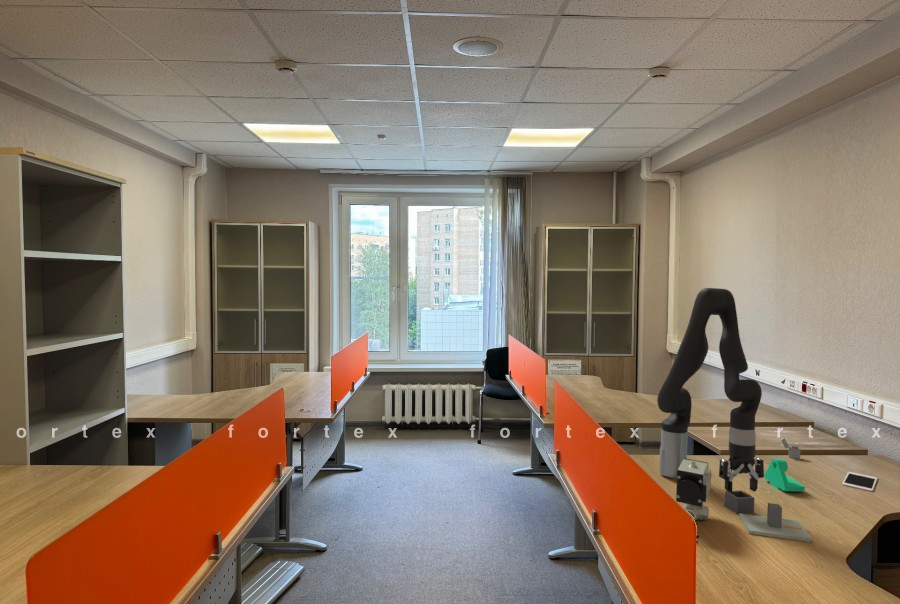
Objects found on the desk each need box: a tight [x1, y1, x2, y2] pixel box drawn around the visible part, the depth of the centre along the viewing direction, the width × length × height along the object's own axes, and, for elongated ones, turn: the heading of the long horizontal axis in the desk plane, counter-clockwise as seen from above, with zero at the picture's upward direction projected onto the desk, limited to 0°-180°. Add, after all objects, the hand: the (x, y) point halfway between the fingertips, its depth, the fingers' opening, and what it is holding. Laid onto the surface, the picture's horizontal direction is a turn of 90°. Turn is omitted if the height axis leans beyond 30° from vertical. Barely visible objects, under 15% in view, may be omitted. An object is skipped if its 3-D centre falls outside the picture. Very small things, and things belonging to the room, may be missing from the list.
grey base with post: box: [739, 502, 813, 543], centre depth 159 cm, size 16×12×7 cm
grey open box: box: [724, 490, 755, 515], centre depth 172 cm, size 6×6×5 cm
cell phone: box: [841, 471, 878, 493], centre depth 198 cm, size 9×18×1 cm, turn 137°
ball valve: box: [675, 458, 712, 521], centre depth 165 cm, size 18×8×18 cm, turn 148°
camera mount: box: [763, 458, 806, 492], centre depth 191 cm, size 12×8×10 cm, turn 0°
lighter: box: [780, 437, 801, 460], centre depth 224 cm, size 7×2×8 cm, turn 59°
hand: (741, 491), depth 171 cm, fingers open, 8 cm apart
